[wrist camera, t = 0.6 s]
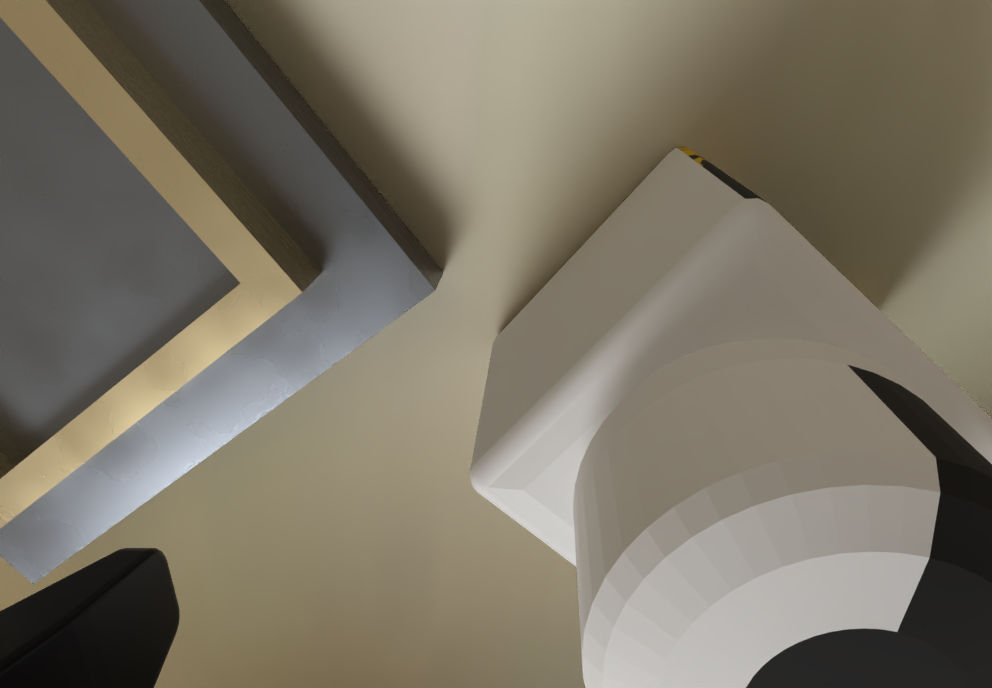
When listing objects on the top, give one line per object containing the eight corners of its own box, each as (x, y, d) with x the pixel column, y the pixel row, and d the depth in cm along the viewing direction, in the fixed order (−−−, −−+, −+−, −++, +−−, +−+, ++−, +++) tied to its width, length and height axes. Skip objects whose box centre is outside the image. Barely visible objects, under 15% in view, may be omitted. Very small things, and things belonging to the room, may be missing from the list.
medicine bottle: (871, 322, 19) (1336, 711, 8) (673, 491, 21) (811, 977, 10) (678, 138, 17) (910, 292, 6) (488, 341, 20) (414, 714, 9)
